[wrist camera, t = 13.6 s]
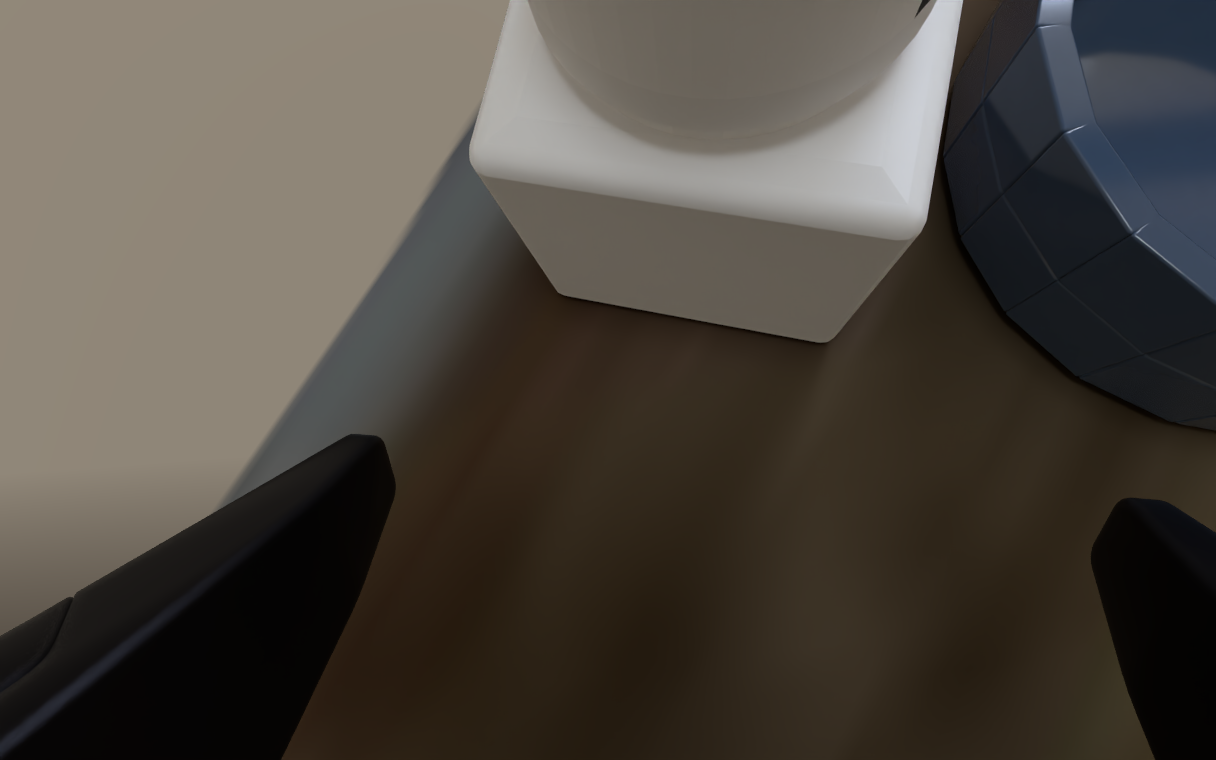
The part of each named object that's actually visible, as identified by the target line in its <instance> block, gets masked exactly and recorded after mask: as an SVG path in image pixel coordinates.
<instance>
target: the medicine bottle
mask: <svg viewBox="0 0 1216 760" xmlns="http://www.w3.org/2000/svg"><path fill="white" fill-rule="evenodd" d="M962 3H963V0H510V2H509V6H508V10H507V13H506V17H505V20H504V24H503V28H502V31H501V35H500V38H499V42H498V46H497V49H496V53H495V56H494V60H493V63H492V68H491V71H490V74H489V78H488V81H487V85H486V89H485V92H484V96H483V99H482V103H481V107H480V110H479V114H478V117H477V121H476V124H475V128H474V132H473V135H472V139H471V142H470V146H469V157H470V163H471V165H472V166H473V168H474V169H475V171H476V173H477V174H478V175H479V177H480V178H481V180H482V181H483V183H484V184H485V186H486V187H487V189H488V190H489V192H490V193H491V195H492V196H493V198H494V199H495V201H496V202H497V203H498V205H499V206H500V208H501V209H502V211H503V212H504V214H505V215H506V217H507V218H508V220H509V221H510V223H511V224H512V226H513V227H514V229H515V230H516V231H517V233H518V234H519V236H520V237H521V239H522V240H523V242H524V243H525V245H526V246H527V248H528V249H529V251H530V252H531V254H532V255H533V256H534V258H535V259H536V261H537V262H538V264H539V265H540V267H541V268H542V270H543V271H544V273H545V274H546V276H547V277H548V279H549V280H550V282H551V283H552V284H553V286H554V287H555V289H556V290H557V292H558V293H560V294H562V295H564V296H569V297H575V298H580V299H586V300H591V301H596V302H602V303H607V304H613V305H618V306H623V307H629V308H634V309H640V310H645V311H650V312H656V313H661V314H667V315H672V316H677V317H683V318H688V319H694V320H699V321H704V322H710V323H715V324H721V325H726V326H731V327H737V328H742V329H748V330H753V331H758V332H764V333H769V334H775V335H780V336H785V337H791V338H796V339H802V340H807V341H812V342H818V343H822V342H828V341H830V340H832V339H833V338H834V337H835V336H836V335H837V334H838V333H839V331H840V330H841V329H842V328H843V327H844V325H845V324H846V323H847V322H848V320H849V319H850V318H851V317H852V316H853V314H854V313H855V312H856V311H857V309H858V308H859V307H860V306H861V305H862V303H863V302H864V301H865V300H866V298H867V297H868V296H869V295H870V294H871V292H872V291H873V290H874V289H875V287H876V286H877V285H878V284H879V283H880V281H881V280H882V279H883V278H884V277H885V275H886V274H887V273H888V272H889V270H890V269H891V268H892V267H893V266H894V264H895V263H896V262H897V261H898V259H899V258H900V257H901V256H902V255H903V253H904V252H905V251H906V250H907V248H908V247H909V246H910V245H911V244H912V242H913V241H914V240H915V239H916V238H917V236H918V235H919V234H920V233H921V231H922V229H923V227H924V225H925V223H926V221H927V215H928V209H929V203H930V197H931V191H932V185H933V179H934V173H935V167H936V161H937V155H938V149H939V142H940V136H941V130H942V124H943V118H944V112H945V106H946V100H947V94H948V88H949V82H950V76H951V70H952V64H953V58H954V52H955V46H956V40H957V34H958V28H959V22H960V16H961V10H962Z"/></svg>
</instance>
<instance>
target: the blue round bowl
mask: <svg viewBox="0 0 1216 760" xmlns="http://www.w3.org/2000/svg"><path fill="white" fill-rule="evenodd" d="M943 157H944V163H945V168H946V173H947V177H948V182H949V187H950V192H951V197H952V201H953V206H954V211H955V216H956V221H957V225H958V230H959V234H960V235H961V241H962V242H963V244H964V246H965V247H966V249H967V251H968V252H969V254H970V256H971V257H972V259H973V261H974V262H975V264H976V266H977V267H978V269H979V271H980V272H981V274H982V276H983V277H984V279H985V281H986V282H987V284H988V286H989V287H990V289H991V291H992V292H993V294H994V295H995V297H996V299H997V300H998V302H999V304H1000V305H1001V307H1002V309H1003V310H1004V311H1005V312H1006V311H1007V312H1006V315H1008V316H1009V317H1010V318H1011V319H1012V320H1013V321H1014V322H1015V323H1017V324H1018V325H1019V326H1020V327H1021V328H1022V329H1023V330H1024V331H1026V332H1027V333H1028V334H1029V335H1030V336H1031V337H1032V338H1033V339H1035V340H1036V341H1037V342H1038V343H1039V344H1040V345H1041V346H1043V347H1044V348H1045V349H1046V350H1047V351H1048V352H1049V353H1050V354H1052V355H1053V356H1054V357H1055V358H1056V359H1057V360H1058V361H1059V362H1061V363H1062V364H1063V365H1064V366H1065V367H1066V368H1067V369H1068V370H1070V371H1071V372H1072V373H1073V374H1074V375H1075V376H1079V378H1080V379H1082V380H1084V381H1086V382H1089V383H1091V384H1093V385H1095V386H1097V387H1099V388H1101V389H1103V390H1105V391H1107V392H1109V393H1111V394H1114V395H1116V396H1118V397H1120V398H1122V399H1124V400H1126V401H1128V402H1130V403H1132V404H1134V405H1136V406H1139V407H1141V408H1143V409H1145V410H1147V411H1149V412H1151V413H1153V414H1155V415H1157V416H1159V417H1161V418H1164V419H1166V420H1168V421H1170V422H1176V423H1178V424H1183V425H1188V426H1194V427H1199V428H1205V429H1210V430H1216V0H1000V2H999V3H998V5H997V7H996V8H995V10H994V12H993V13H992V15H991V17H990V19H989V20H988V22H987V24H986V26H985V27H984V29H983V31H982V33H981V35H980V36H979V38H978V40H977V42H976V44H975V45H974V47H973V49H972V51H971V52H970V54H969V56H968V58H967V60H966V61H965V63H964V65H963V67H962V69H961V70H960V72H959V74H958V76H957V77H956V81H955V83H954V88H953V94H952V100H951V107H950V113H949V120H948V126H947V133H946V139H945V146H944V152H943Z"/></svg>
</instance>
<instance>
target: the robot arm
mask: <svg viewBox="0 0 1216 760" xmlns="http://www.w3.org/2000/svg"><path fill="white" fill-rule="evenodd" d="M395 490H396V484H395V478H394V474H393V471H392V467H391V464H390V461H389V457H388V454H387V450H386V447H385V444H384V442H383V440H382V439H381V438H380V437H378V436H374V435H362V434H350V435H348V436H346V437H344V438H342V439H340V440H338V441H337V442H335V443H333V444H332V445H330V446H328V447H326V448H325V449H323V450H321V451H320V452H318V453H316V454H314V455H313V456H311V457H309V458H307V459H306V460H304V461H302V462H301V463H299V464H297V465H295V466H294V467H292V468H290V469H289V470H287V471H285V472H283V473H282V474H280V475H278V476H276V477H275V478H273V479H271V480H270V481H268V482H266V483H264V484H263V485H261V486H259V487H258V488H256V489H254V490H252V491H251V492H249V493H247V494H245V495H244V496H242V497H240V498H239V499H237V500H235V501H233V502H232V503H230V504H228V505H226V506H225V507H223V508H221V509H220V510H218V511H216V512H214V513H213V514H211V515H209V516H207V517H206V518H204V519H202V520H201V521H199V522H197V523H195V524H194V525H192V526H190V527H189V528H187V529H185V530H183V531H182V532H180V533H178V534H176V535H175V536H173V537H171V538H170V539H168V540H166V541H165V542H163V543H161V544H159V545H158V546H156V547H154V548H152V549H151V550H149V551H147V552H146V553H144V554H142V555H140V556H139V557H137V558H135V559H133V560H132V561H130V562H128V563H126V564H125V565H123V566H121V567H120V568H118V569H116V570H115V571H113V572H111V573H109V574H108V575H106V576H104V577H102V578H101V579H99V580H97V581H95V582H94V583H92V584H90V585H88V586H87V587H85V588H84V589H82V590H80V591H78V592H77V593H76V594H75V596H74V598H73V597H68V598H66V599H64V600H62V601H61V602H59V603H57V604H56V605H54V606H52V607H50V608H49V609H47V610H45V611H44V612H42V613H40V614H38V615H37V616H35V617H33V618H32V619H30V620H28V621H26V622H25V623H23V624H21V625H19V626H17V627H15V628H14V629H12V630H10V631H8V632H7V633H5V634H3V635H1V636H0V760H281V759H282V757H283V755H284V753H285V751H286V748H287V746H288V744H289V742H290V740H291V738H292V736H293V734H294V732H295V730H296V728H297V726H298V723H299V721H300V719H301V717H302V715H303V713H304V711H305V709H306V707H307V705H308V703H309V701H310V699H311V696H312V694H313V692H314V690H315V688H316V686H317V684H318V682H319V680H320V678H321V676H322V674H323V671H324V669H325V667H326V665H327V663H328V661H329V659H330V657H331V655H332V653H333V651H334V649H335V646H336V644H337V642H338V640H339V638H340V636H341V634H342V632H343V630H344V628H345V626H346V624H347V622H348V619H349V617H350V615H351V613H352V611H353V609H354V606H355V604H356V602H357V600H358V597H359V595H360V592H361V590H362V587H363V585H364V582H365V579H366V576H367V574H368V571H369V568H370V565H371V562H372V559H373V557H374V554H375V551H376V548H377V545H378V542H379V540H380V537H381V534H382V531H383V528H384V525H385V523H386V520H387V517H388V514H389V511H390V508H391V506H392V503H393V500H394V496H395ZM1091 565H1092V569H1093V573H1094V576H1095V580H1096V583H1097V587H1098V590H1099V594H1100V598H1101V601H1102V605H1103V608H1104V612H1105V615H1106V619H1107V622H1108V626H1109V629H1110V633H1111V636H1112V640H1113V643H1114V647H1115V650H1116V654H1117V657H1118V661H1119V664H1120V668H1121V671H1122V674H1123V678H1124V681H1125V684H1126V687H1127V690H1128V693H1129V696H1130V698H1131V701H1132V703H1133V706H1134V709H1135V711H1136V714H1137V716H1138V719H1139V721H1140V724H1141V726H1142V729H1143V731H1144V733H1145V736H1146V738H1147V741H1148V743H1149V746H1150V748H1151V751H1152V753H1153V755H1154V758H1155V760H1216V533H1215V532H1213V531H1212V530H1210V529H1209V528H1207V527H1206V526H1204V525H1203V524H1201V523H1199V522H1198V521H1196V520H1195V519H1193V518H1192V517H1190V516H1189V515H1187V514H1186V513H1184V512H1182V511H1181V510H1179V509H1178V508H1176V507H1175V506H1173V505H1171V504H1170V503H1168V502H1165V501H1161V500H1152V499H1139V498H1125V499H1122V500H1121V501H1119V502H1118V503H1117V504H1116V505H1115V507H1114V508H1113V510H1112V512H1111V514H1110V515H1109V517H1108V519H1107V521H1106V523H1105V524H1104V526H1103V528H1102V530H1101V531H1100V533H1099V535H1098V537H1097V539H1096V540H1095V542H1094V544H1093V547H1092V551H1091Z"/></svg>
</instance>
